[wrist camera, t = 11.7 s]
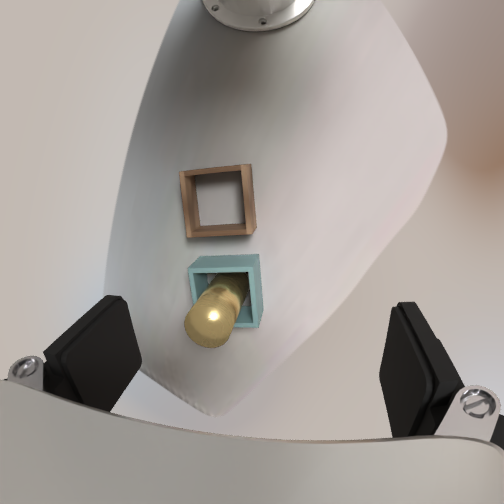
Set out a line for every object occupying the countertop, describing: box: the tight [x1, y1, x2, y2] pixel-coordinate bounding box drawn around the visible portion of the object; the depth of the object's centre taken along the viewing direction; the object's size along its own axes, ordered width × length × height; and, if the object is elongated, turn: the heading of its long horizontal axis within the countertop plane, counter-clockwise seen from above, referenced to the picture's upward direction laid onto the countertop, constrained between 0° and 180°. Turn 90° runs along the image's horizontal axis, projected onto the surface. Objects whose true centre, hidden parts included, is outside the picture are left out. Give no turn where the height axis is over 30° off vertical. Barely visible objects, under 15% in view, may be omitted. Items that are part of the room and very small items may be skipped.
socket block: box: [179, 164, 257, 238], centre depth 31 cm, size 7×7×3 cm
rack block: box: [188, 254, 263, 328], centre depth 33 cm, size 7×7×4 cm
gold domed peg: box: [184, 272, 250, 348], centre depth 30 cm, size 4×4×10 cm
